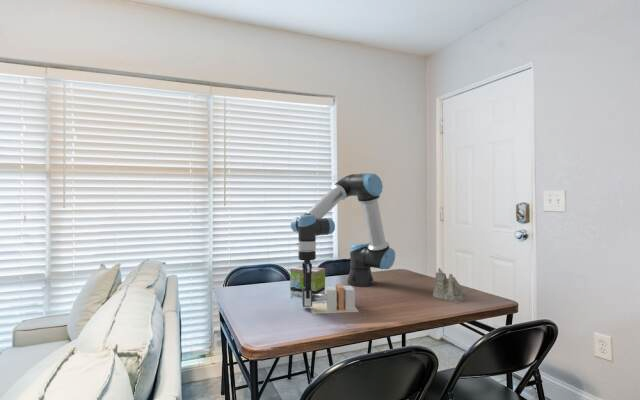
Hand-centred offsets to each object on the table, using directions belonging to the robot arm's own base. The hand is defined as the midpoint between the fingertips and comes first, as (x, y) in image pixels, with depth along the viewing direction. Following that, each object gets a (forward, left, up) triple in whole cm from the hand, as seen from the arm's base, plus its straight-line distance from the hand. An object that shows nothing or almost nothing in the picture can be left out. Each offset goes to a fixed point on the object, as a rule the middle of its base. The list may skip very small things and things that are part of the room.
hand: (307, 303), depth 155 cm
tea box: (-2, -23, -4) cm, 23 cm away
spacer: (-14, 0, -2) cm, 15 cm away
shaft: (-7, 0, -1) cm, 7 cm away
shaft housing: (-11, 0, -4) cm, 12 cm away
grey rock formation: (-73, -15, -4) cm, 75 cm away
